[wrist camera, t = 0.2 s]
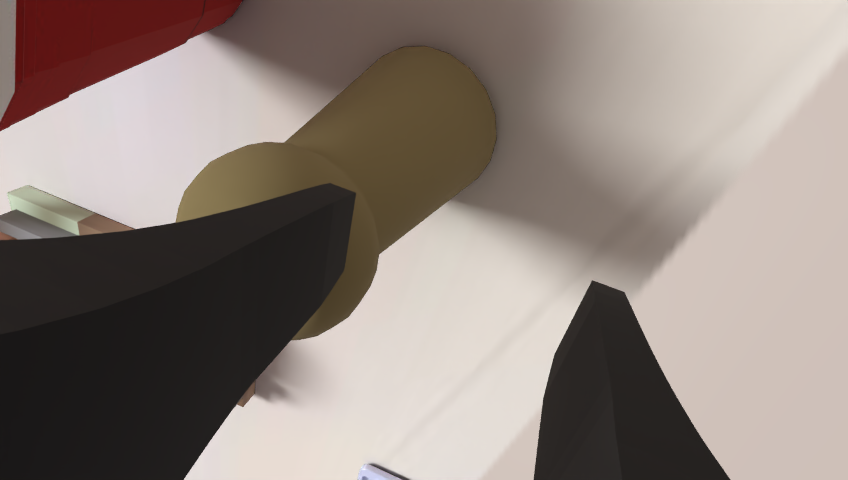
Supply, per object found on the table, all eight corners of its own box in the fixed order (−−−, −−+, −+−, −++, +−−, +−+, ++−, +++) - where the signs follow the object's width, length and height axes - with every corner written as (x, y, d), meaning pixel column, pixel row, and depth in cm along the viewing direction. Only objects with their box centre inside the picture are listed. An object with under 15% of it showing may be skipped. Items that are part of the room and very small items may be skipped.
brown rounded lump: (360, 177, 23) (169, 335, 15) (353, 36, 20) (99, 137, 11) (488, 207, 21) (352, 409, 13) (505, 56, 18) (335, 196, 9)
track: (260, 281, 28) (196, 337, 24) (254, 393, 33) (201, 456, 29) (27, 185, 31) (-67, 220, 26) (53, 302, 35) (-22, 347, 31)
